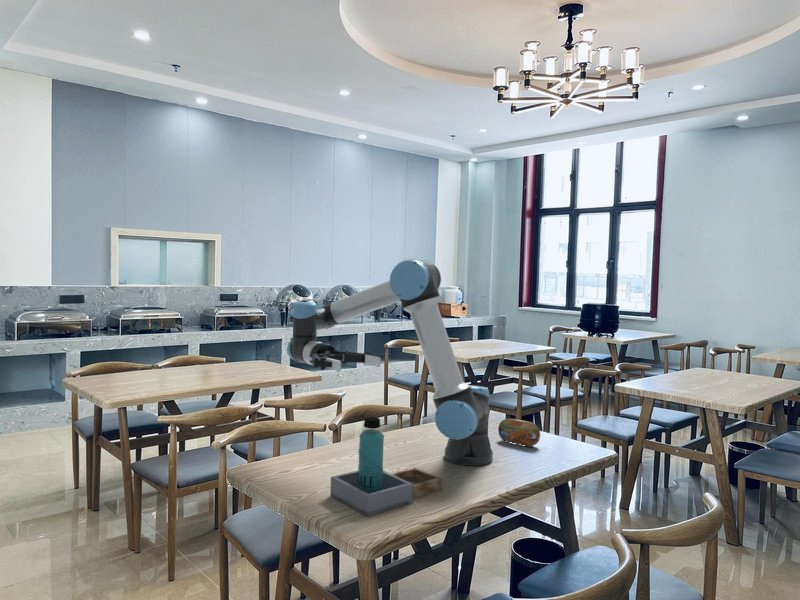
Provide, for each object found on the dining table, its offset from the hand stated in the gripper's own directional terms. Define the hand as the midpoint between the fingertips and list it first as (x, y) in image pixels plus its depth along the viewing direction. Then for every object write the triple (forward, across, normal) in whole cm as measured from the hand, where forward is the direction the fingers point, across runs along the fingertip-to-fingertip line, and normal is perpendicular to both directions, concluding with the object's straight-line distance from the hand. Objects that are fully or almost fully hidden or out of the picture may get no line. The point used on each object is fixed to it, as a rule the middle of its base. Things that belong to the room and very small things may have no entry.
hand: (360, 364), depth 163 cm
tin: (+6, -64, -32) cm, 72 cm away
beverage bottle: (+16, +7, -31) cm, 36 cm away
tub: (+16, +7, -32) cm, 36 cm away
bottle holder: (+16, -7, -32) cm, 36 cm away
